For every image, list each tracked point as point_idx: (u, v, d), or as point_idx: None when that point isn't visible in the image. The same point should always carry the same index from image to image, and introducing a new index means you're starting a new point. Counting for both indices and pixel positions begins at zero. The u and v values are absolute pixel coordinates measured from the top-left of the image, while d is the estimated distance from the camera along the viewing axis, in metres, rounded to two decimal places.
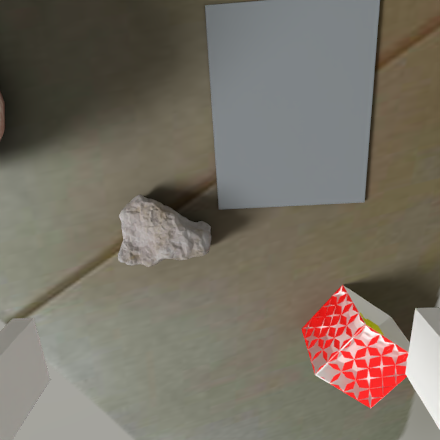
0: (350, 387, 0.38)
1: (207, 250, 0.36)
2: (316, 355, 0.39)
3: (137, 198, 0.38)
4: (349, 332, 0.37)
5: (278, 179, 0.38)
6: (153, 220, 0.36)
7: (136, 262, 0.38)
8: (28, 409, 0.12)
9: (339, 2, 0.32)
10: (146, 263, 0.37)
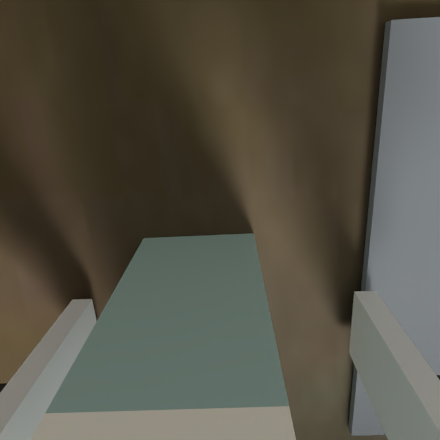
0: None
1: None
2: None
3: None
4: None
5: None
6: None
7: None
8: None
9: (399, 148, 0.11)
10: None
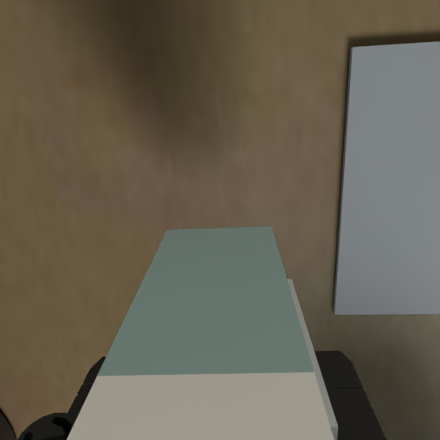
0: None
1: None
2: None
3: None
4: None
5: None
6: None
7: None
8: None
9: (359, 120, 0.19)
10: None
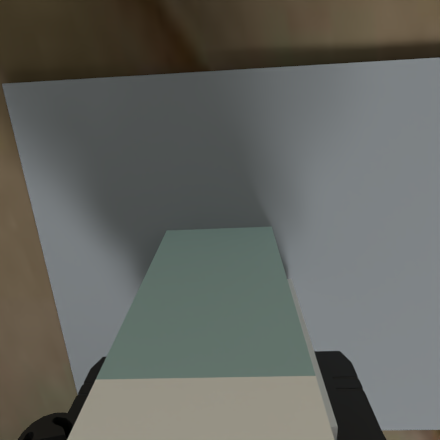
0: None
1: None
2: None
3: None
4: None
5: None
6: None
7: None
8: None
9: (44, 187, 0.13)
10: None
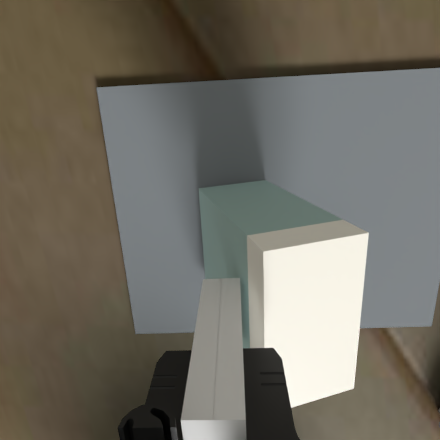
0: None
1: None
2: None
3: None
4: None
5: (396, 235, 0.22)
6: None
7: None
8: None
9: (118, 154, 0.20)
10: None
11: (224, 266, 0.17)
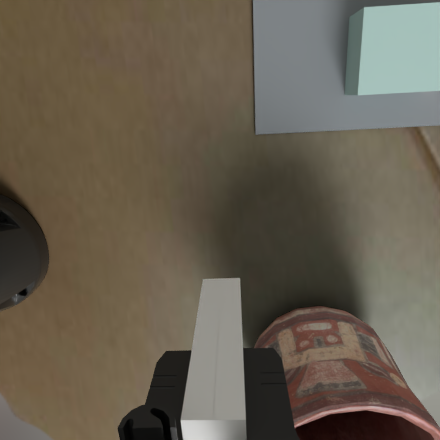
0: None
1: None
2: None
3: None
4: None
5: None
6: None
7: None
8: None
9: (259, 0, 0.33)
10: None
11: (413, 40, 0.31)
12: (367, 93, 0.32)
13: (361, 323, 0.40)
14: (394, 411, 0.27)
